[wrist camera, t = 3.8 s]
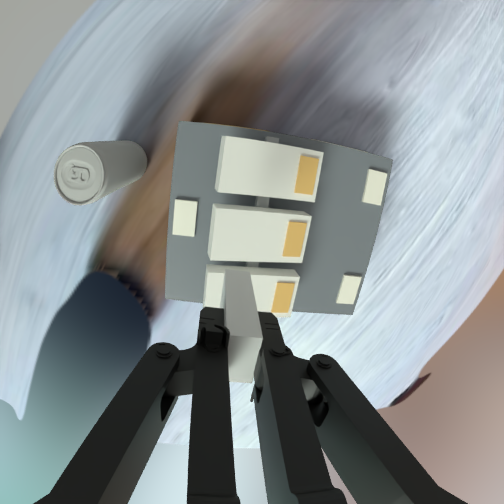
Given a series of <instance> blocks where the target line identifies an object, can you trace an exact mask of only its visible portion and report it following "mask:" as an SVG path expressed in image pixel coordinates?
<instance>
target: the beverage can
mask: <svg viewBox="0 0 504 504" xmlns="http://www.w3.org/2000/svg"><path fill="white" fill-rule="evenodd" d="M146 167H147V157H146V154H145V152H144V150H143V149H142V148H141V146H140V145H138V144H137V143H135V142H133V141H126V140H124V141H98V142H82V143H78V144H75V145H73V146H71V147H69V148H67V149H66V150H65V151H63V152H62V154H61V155H60V156H59V158H58V160H57V162H56V164H55V169H54V182H55V187H56V189H57V191H58V193H59V194H60V196H61V197H62V198H63V199H64V200H65V201H67V202H68V203H70V204H73V205H87V204H91V203H93V202H95V201H97V200H99V199H101V198H103V197H105V196H107V195H108V194H110V193H112V192H114V191H116V190H118V189H120V188H122V187H124V186H126V185H128V184H130V183H133V182H135V181H137V180H138V179H140V178H141V177H142V176H143V174H144V172H145V170H146Z"/></svg>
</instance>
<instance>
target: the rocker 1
mask: <svg viewBox="0 0 504 504" xmlns="http://www.w3.org/2000/svg"><path fill="white" fill-rule="evenodd" d="M323 154H324V152H319V151H314V150H309V149H304V148H299V147H294V146H289V145H283V144H277V143H271V142H265V141H259V140H252V139H246V138H238V137H231V136H222V138H221V145H220V152H219V159H218V167H217V174H216V182H215V189H216V191H217V192H220V193H232V194H243V195H253V196H263V197H273V198H282V199H291V200H299V201H308V202H315V198H316V193H317V187H318V182H319V176H320V171H321V165H322V160H323Z"/></svg>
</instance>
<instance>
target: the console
mask: <svg viewBox="0 0 504 504" xmlns="http://www.w3.org/2000/svg"><path fill="white" fill-rule="evenodd" d="M222 136H231V137H238V138H246V139H252V140H259V141H265V142H271V143H277V144H283V145H289V146H294V147H299V148H304V149H309V150H314V151H319V152H324V154H323V160H322V165H321V171H320V176H319V182H318V187H317V193H316V198H315V202H308V201H299V200H291V199H282V198H273V197H263V196H253V195H243V194H232V193H220V192H217V191H216V189H215V182H216V174H217V167H218V159H219V152H220V145H221V138H222ZM392 162H393V160H392V159H389V158H386V157H382V156H379V155H375V154H371V153H368V152H366V151H362V150H358V149H354V148H350V147H346V146H342V145H337V144H333V143H329V142H324V141H320V140H315V139H308V138H303V137H297V136H292V135H287V134H281V133H275V132H269V131H266V130H260V129H253V128H246V127H239V126H231V125H222V124H213V123H198V122H186V121H179V124H178V131H177V139H176V147H175V155H174V164H173V174H172V184H171V195H170V207H169V220H168V236H167V255H166V283H165V299H172V300H180V301H188V302H197V303H203V298H204V286H205V275H206V265H207V264H208V265H224V266H242V267H259V268H278V269H294V270H295V271H296V272H297V274H298V275H299V276H300V279H299V283H298V287H297V292H296V296H295V300H294V304H293V308H292V311H294V312H309V313H326V314H346V315H353V312H354V309H355V306H356V303H357V300H358V296H359V293H360V290H361V287H362V284H363V281H364V277H365V274H366V271H367V267H368V264H369V260H370V257H371V253H372V250H373V246H374V242H375V238H376V234H377V231H378V227H379V223H380V218H381V214H382V210H383V206H384V201H385V197H386V192H387V187H388V183H389V178H390V173H391V167H392ZM213 203H214V204H227V205H240V206H252V207H263V208H274V209H285V210H295V211H304V212H305V213H307V214H309V215H310V216H312V218H311V223H310V228H309V233H308V238H307V242H306V247H305V252H304V256H303V261H302V263H286V262H248V261H214V260H210V258H209V256H208V253H207V252H208V243H209V233H210V224H211V215H212V207H213Z"/></svg>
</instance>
